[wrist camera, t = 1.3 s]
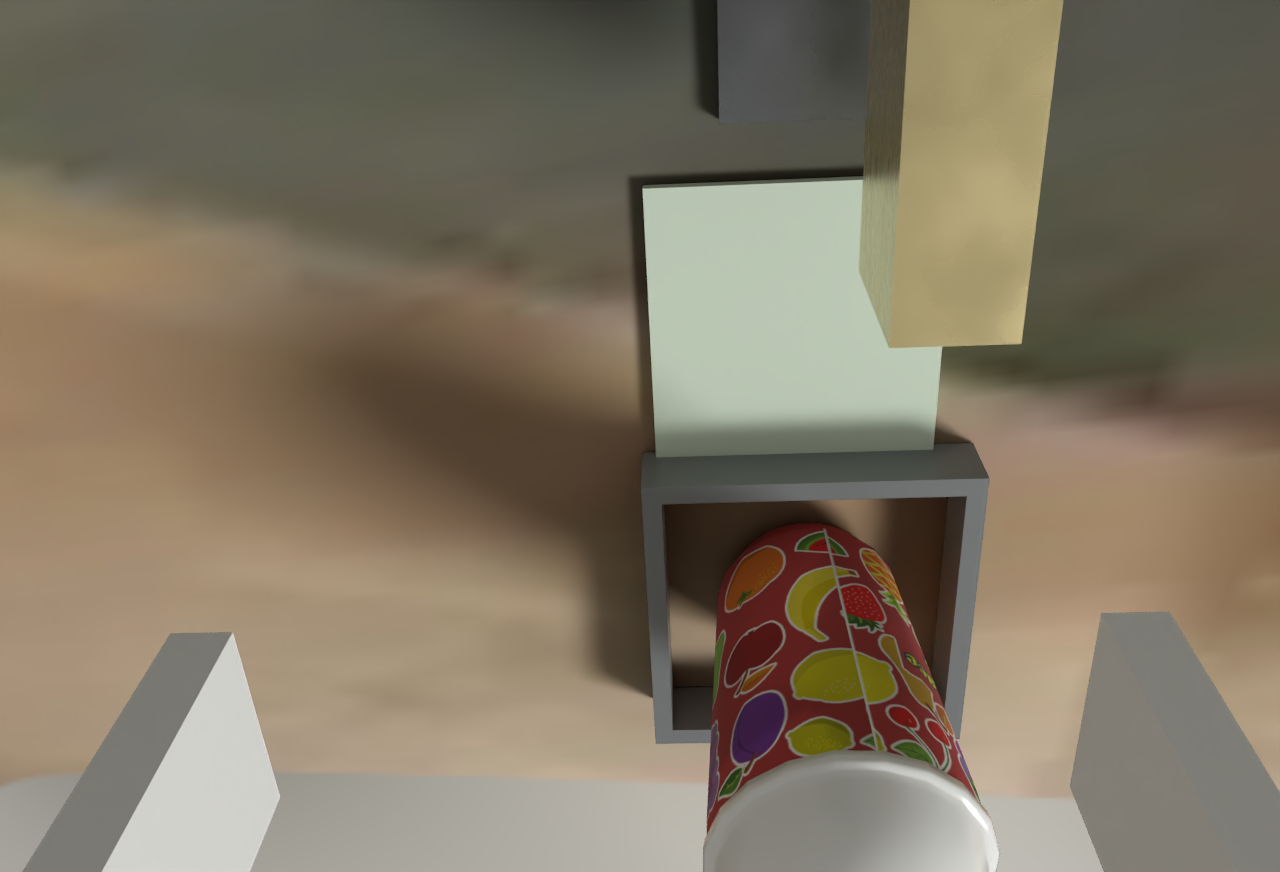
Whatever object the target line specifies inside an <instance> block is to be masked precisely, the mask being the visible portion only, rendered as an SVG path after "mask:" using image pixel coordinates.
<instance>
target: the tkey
mask: <svg viewBox="0 0 1280 872" xmlns="http://www.w3.org/2000/svg"><path fill="white" fill-rule="evenodd" d="M1062 7H1063V0H871V9H870V32H869V54H868V76H867V98H866V120H865V143H864V165H863V187H862V209H861V232H860V254H859V273H860V276H861V278H862V281H863V283H864V286H865V289H866V291H867V294H868V296H869V299H870V301H871V304H872V306H873V309H874V312H875V314H876V317H877V319H878V322H879V324H880V327H881V329H882V332H883V335H884V337H885V340H886V342H887V345H888V347H889V348H911V347H941V346H971V345H1001V344H1021V342H1022V334H1023V326H1024V318H1025V310H1026V302H1027V293H1028V285H1029V277H1030V269H1031V261H1032V253H1033V244H1034V236H1035V228H1036V220H1037V212H1038V204H1039V195H1040V187H1041V179H1042V171H1043V163H1044V155H1045V146H1046V138H1047V130H1048V122H1049V114H1050V106H1051V97H1052V89H1053V81H1054V73H1055V65H1056V56H1057V48H1058V40H1059V32H1060V24H1061V16H1062Z"/></svg>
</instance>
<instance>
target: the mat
mask: <svg viewBox="0 0 1280 872" xmlns="http://www.w3.org/2000/svg"><path fill="white" fill-rule="evenodd" d="M862 187H863V176H855V177H831V178H807V179H782V180H758V181H734V182H709V183H685V184H661V185H643V208H644V228H645V247H646V267H647V287H648V307H649V326H650V346H651V366H652V386H653V405H654V425H655V445H656V457H689V456H725V455H760V454H795V453H830V452H865V451H901V450H933V446H934V434H935V423H936V411H937V399H938V388H939V376H940V364H941V353H942V346H941V347H911V348H889V347H888V345H887V342H886V340H885V337H884V335H883V332H882V329H881V327H880V324H879V322H878V319H877V317H876V314H875V312H874V309H873V306H872V304H871V301H870V299H869V296H868V294H867V291H866V289H865V286H864V283H863V281H862V278H861V276H860V273H859V254H860V232H861V209H862Z"/></svg>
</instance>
